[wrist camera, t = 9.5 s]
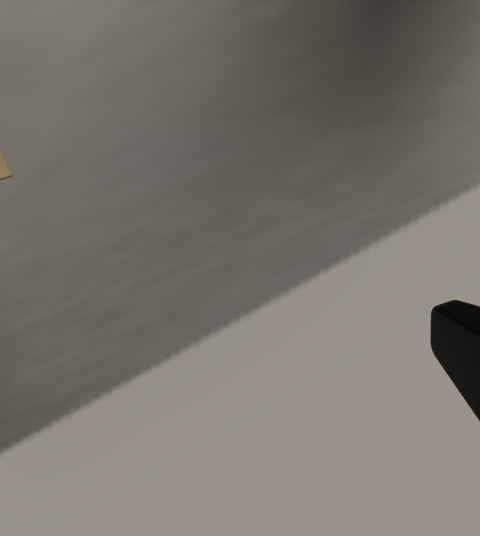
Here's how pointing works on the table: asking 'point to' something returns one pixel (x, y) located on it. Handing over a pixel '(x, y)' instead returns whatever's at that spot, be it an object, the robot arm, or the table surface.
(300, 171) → the table surface
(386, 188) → the table surface
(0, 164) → the oak slab
